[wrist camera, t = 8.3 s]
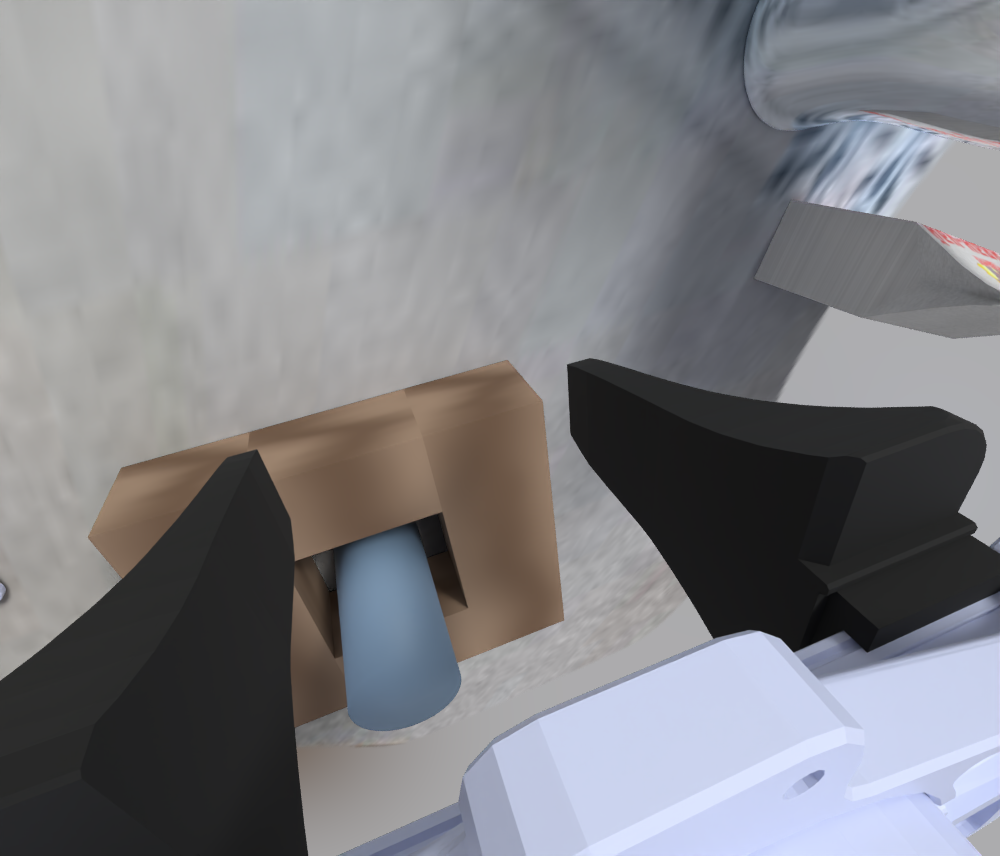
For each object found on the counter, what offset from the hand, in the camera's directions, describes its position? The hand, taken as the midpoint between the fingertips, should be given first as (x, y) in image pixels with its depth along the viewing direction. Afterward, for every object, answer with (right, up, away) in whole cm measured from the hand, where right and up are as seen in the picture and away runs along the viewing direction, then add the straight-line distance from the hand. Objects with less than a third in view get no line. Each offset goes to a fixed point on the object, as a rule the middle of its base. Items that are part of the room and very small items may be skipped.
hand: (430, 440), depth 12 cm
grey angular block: (+18, +9, +14) cm, 24 cm away
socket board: (-5, -5, +13) cm, 15 cm away
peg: (-5, -5, +13) cm, 15 cm away
